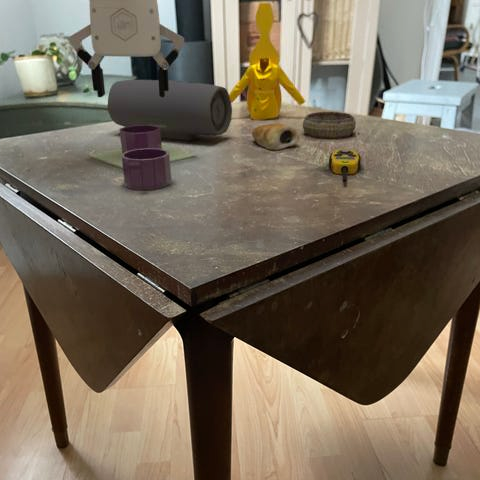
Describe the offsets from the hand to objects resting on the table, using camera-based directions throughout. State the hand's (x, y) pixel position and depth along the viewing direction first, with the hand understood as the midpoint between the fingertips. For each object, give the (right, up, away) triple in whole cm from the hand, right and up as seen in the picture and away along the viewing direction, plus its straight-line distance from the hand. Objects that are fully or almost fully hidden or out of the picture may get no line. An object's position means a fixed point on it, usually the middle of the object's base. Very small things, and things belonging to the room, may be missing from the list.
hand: (132, 96), depth 86 cm
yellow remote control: (+33, -14, -5) cm, 36 cm away
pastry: (+23, -4, +11) cm, 26 cm away
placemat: (+1, -8, +5) cm, 10 cm away
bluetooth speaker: (+4, -1, +18) cm, 19 cm away
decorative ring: (+34, 0, +18) cm, 39 cm away
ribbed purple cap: (+4, -16, -8) cm, 19 cm away
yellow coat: (+23, +9, +34) cm, 41 cm away
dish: (+1, -8, +5) cm, 9 cm away
